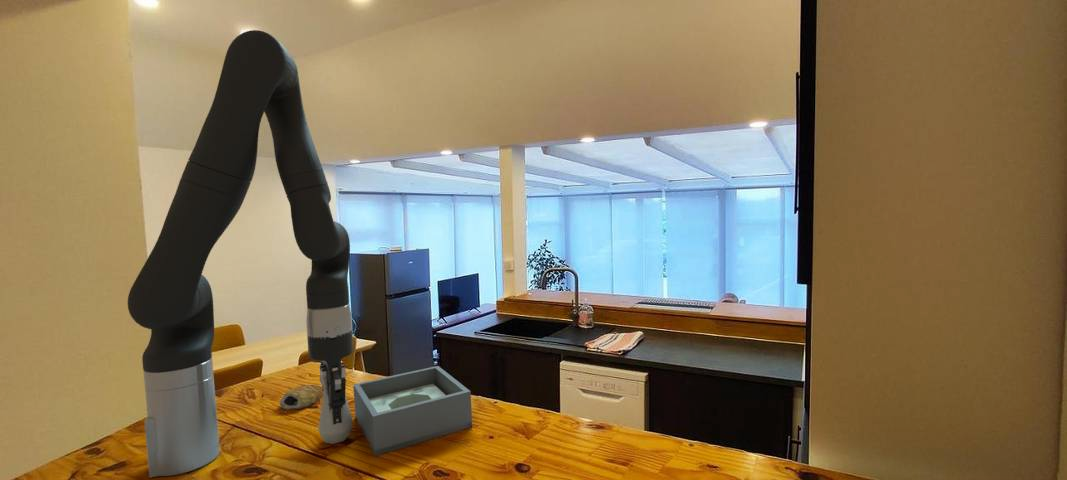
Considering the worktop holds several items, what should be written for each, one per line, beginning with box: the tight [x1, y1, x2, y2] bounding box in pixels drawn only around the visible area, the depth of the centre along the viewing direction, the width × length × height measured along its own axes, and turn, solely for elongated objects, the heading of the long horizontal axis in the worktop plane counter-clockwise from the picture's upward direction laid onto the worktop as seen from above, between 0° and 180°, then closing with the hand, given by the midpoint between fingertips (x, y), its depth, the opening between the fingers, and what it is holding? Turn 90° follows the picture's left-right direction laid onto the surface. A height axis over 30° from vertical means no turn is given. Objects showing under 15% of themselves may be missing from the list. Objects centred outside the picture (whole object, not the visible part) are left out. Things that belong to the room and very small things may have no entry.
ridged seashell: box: [279, 384, 324, 410], centre depth 102 cm, size 9×7×4 cm
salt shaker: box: [317, 373, 354, 445], centre depth 83 cm, size 6×6×13 cm
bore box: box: [352, 365, 473, 457], centre depth 90 cm, size 18×18×7 cm
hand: (335, 421), depth 84 cm, fingers closed on salt shaker, 3 cm apart
